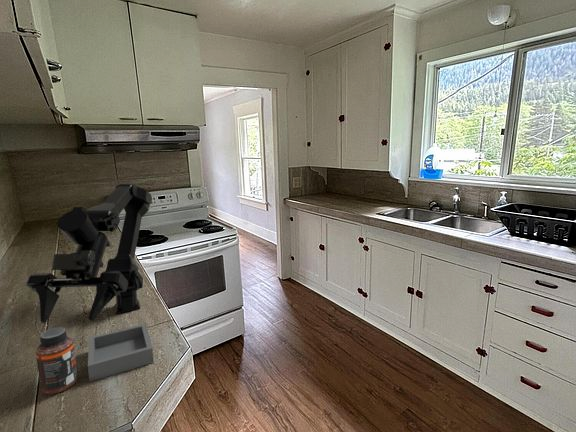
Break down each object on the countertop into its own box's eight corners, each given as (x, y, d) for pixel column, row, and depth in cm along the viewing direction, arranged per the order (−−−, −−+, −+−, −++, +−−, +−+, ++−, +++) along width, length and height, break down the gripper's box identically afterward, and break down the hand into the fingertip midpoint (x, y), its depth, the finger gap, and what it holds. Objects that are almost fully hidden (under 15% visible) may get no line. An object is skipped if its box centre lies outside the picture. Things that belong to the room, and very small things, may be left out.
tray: (90, 350, 73) (89, 337, 73) (146, 336, 79) (145, 323, 79) (89, 381, 63) (87, 366, 62) (153, 362, 69) (152, 348, 68)
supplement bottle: (82, 383, 62) (75, 331, 60) (45, 400, 58) (36, 345, 56) (73, 370, 66) (66, 321, 64) (38, 385, 62) (30, 332, 60)
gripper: (25, 237, 66) (-10, 310, 57) (118, 235, 68) (98, 306, 59) (53, 261, 75) (27, 328, 66) (134, 259, 77) (119, 324, 68)
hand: (66, 321), depth 65 cm, fingers open, 9 cm apart
